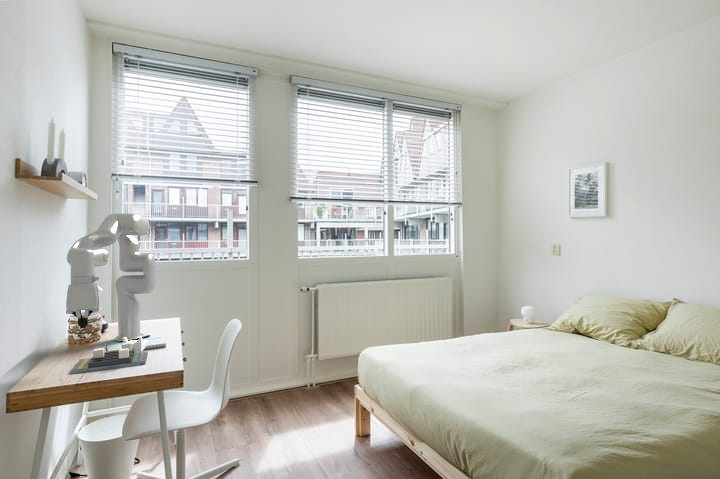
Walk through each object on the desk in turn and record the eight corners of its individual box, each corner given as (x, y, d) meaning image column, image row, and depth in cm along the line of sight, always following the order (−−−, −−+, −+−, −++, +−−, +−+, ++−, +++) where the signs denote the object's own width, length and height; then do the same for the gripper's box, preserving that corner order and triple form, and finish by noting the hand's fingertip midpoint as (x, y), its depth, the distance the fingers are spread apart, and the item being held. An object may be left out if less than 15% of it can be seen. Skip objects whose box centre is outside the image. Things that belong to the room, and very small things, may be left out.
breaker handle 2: (119, 361, 155) (119, 349, 155) (129, 360, 157) (128, 348, 157) (118, 363, 153) (118, 350, 153) (128, 362, 154) (128, 349, 154)
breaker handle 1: (122, 354, 164) (122, 343, 164) (131, 353, 166) (131, 342, 166) (122, 356, 162) (121, 344, 162) (131, 355, 163) (130, 343, 163)
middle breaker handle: (94, 360, 156) (94, 348, 156) (104, 359, 157) (104, 347, 157) (93, 362, 154) (93, 350, 154) (103, 361, 155) (103, 349, 155)
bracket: (141, 354, 170) (141, 337, 170) (122, 356, 168) (122, 338, 168) (147, 346, 183) (147, 330, 182) (130, 348, 180) (130, 331, 180)
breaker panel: (80, 362, 159) (80, 354, 159) (147, 354, 169) (147, 347, 169) (71, 373, 146) (71, 365, 146) (145, 364, 156) (145, 356, 156)
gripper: (106, 278, 160) (107, 324, 160) (61, 280, 153) (61, 328, 153) (104, 280, 153) (104, 327, 153) (56, 282, 146) (56, 332, 147)
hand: (83, 327), depth 153 cm, fingers closed
